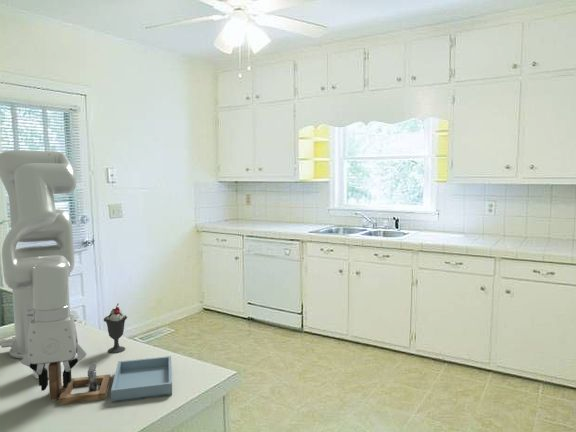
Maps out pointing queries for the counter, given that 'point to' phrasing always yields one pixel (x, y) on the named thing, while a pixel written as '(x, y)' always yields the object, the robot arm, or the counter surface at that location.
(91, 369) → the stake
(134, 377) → the tray
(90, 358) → the counter surface
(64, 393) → the ring
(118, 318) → the sundae
